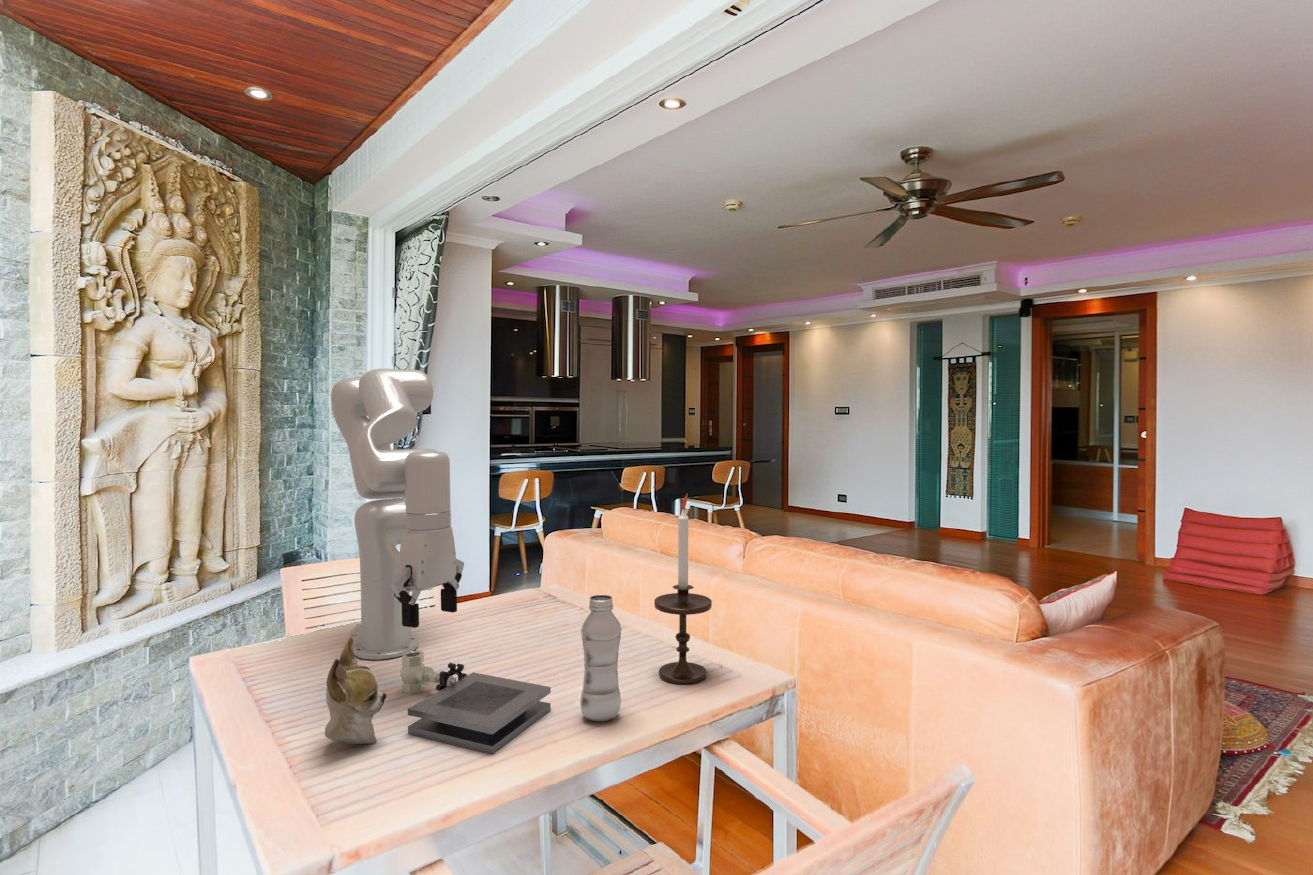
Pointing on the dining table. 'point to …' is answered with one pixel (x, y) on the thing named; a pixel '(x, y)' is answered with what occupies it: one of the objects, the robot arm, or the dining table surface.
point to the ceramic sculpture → (352, 700)
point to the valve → (425, 673)
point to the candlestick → (682, 613)
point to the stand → (479, 712)
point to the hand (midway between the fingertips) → (430, 618)
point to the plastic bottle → (600, 661)
